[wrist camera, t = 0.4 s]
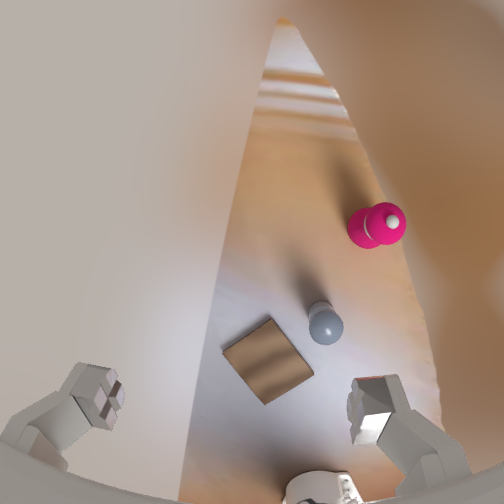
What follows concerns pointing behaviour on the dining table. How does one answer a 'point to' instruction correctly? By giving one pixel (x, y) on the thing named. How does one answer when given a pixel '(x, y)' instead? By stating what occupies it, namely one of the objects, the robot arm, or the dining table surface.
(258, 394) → the walnut board
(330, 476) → the robot arm
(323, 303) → the spice jar
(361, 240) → the pepper mill
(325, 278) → the dining table surface
